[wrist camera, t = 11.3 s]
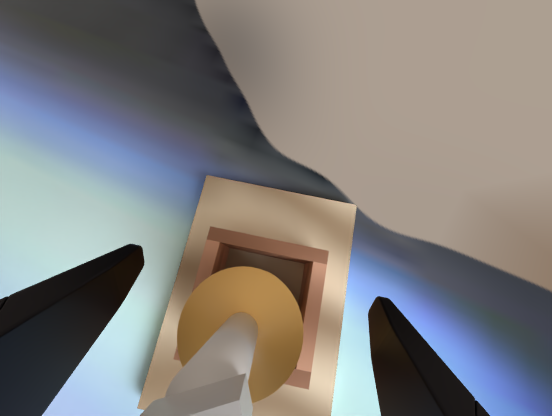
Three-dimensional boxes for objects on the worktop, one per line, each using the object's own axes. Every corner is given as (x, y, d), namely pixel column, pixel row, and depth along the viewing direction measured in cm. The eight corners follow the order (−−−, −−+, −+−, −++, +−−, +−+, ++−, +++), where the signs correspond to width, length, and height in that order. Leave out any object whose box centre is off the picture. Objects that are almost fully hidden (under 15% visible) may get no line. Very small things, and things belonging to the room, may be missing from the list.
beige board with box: (323, 443, 16) (343, 508, 11) (143, 401, 16) (96, 449, 12) (353, 207, 20) (376, 189, 15) (209, 178, 20) (192, 152, 16)
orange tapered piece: (238, 330, 17) (-18, 795, 2) (228, 277, 17) (-4, 302, 3) (289, 316, 17) (420, 616, 2) (276, 264, 18) (307, 224, 3)
